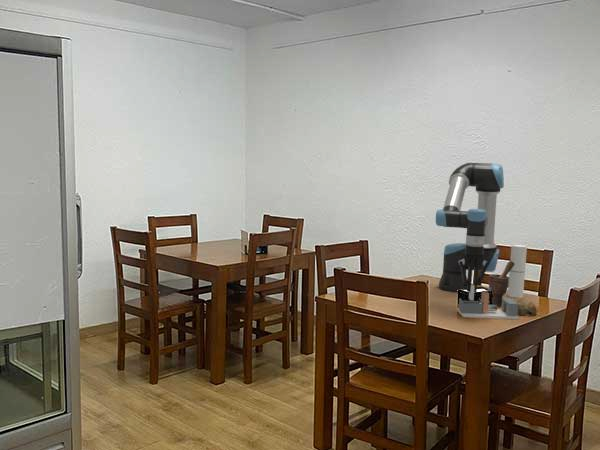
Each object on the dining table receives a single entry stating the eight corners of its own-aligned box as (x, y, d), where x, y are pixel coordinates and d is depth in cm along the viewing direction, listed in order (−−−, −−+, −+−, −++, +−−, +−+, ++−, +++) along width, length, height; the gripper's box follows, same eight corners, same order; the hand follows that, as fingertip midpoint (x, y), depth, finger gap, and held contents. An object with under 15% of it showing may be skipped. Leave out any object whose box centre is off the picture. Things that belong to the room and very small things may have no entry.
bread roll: (517, 323, 266) (523, 309, 261) (505, 308, 274) (511, 294, 270) (536, 322, 268) (543, 308, 264) (524, 307, 277) (530, 293, 272)
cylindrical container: (507, 296, 300) (511, 246, 298) (507, 293, 307) (511, 244, 304) (523, 298, 298) (527, 247, 295) (522, 295, 305) (526, 245, 302)
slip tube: (461, 309, 267) (462, 290, 266) (494, 311, 267) (495, 291, 266) (463, 312, 263) (465, 292, 262) (497, 313, 262) (498, 293, 261)
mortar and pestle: (497, 299, 293) (500, 258, 291) (514, 303, 287) (517, 261, 284) (483, 302, 286) (486, 260, 284) (500, 306, 279) (503, 263, 277)
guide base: (456, 309, 271) (457, 295, 270) (509, 312, 270) (510, 297, 270) (463, 317, 259) (464, 302, 258) (518, 319, 258) (519, 304, 258)
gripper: (461, 246, 258) (457, 300, 261) (492, 247, 257) (488, 302, 260) (457, 243, 265) (454, 296, 268) (487, 244, 265) (484, 298, 268)
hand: (471, 299), depth 264 cm, fingers closed
